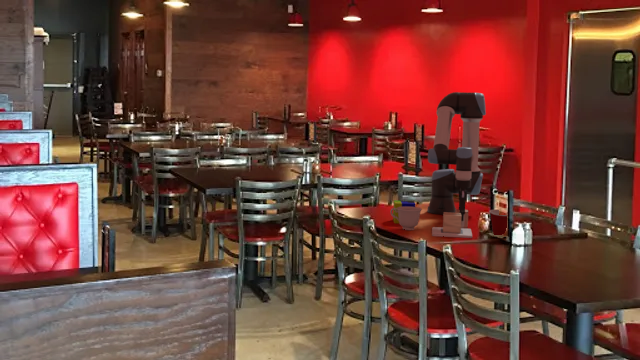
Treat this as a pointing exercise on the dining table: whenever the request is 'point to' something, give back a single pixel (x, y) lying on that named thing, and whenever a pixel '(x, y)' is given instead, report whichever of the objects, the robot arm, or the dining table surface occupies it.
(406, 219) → the teacup
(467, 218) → the terracotta block
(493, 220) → the plastic cup
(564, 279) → the dining table surface
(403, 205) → the puzzle toy
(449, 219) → the oak cube
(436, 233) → the base
